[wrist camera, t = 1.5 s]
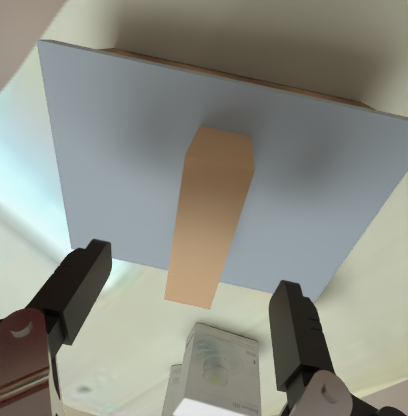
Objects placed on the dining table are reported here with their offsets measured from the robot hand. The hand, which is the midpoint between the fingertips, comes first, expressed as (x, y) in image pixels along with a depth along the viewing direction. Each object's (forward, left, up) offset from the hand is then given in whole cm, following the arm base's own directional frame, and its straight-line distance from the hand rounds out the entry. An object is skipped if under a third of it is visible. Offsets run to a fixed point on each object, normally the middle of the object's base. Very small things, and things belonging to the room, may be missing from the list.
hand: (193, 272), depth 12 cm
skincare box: (-7, +31, -15) cm, 35 cm away
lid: (0, 0, -8) cm, 8 cm away
